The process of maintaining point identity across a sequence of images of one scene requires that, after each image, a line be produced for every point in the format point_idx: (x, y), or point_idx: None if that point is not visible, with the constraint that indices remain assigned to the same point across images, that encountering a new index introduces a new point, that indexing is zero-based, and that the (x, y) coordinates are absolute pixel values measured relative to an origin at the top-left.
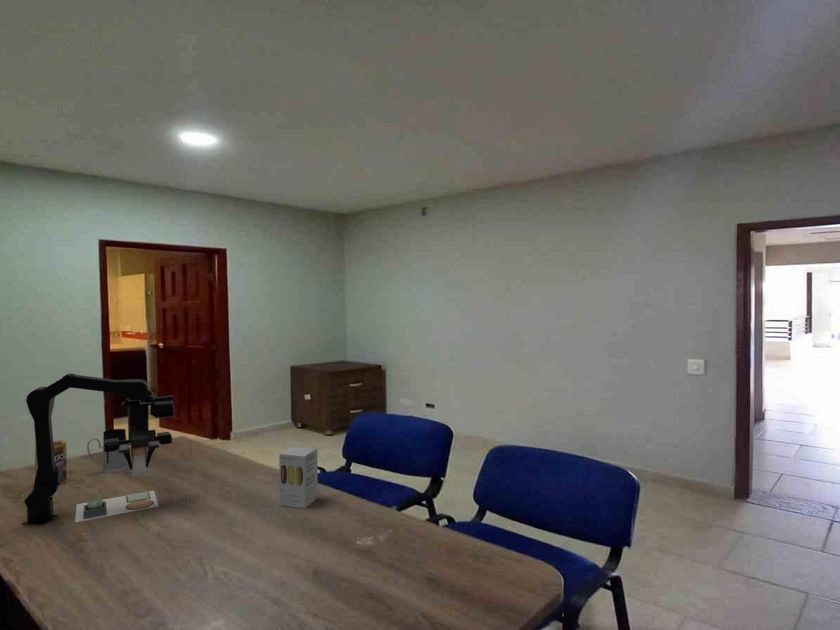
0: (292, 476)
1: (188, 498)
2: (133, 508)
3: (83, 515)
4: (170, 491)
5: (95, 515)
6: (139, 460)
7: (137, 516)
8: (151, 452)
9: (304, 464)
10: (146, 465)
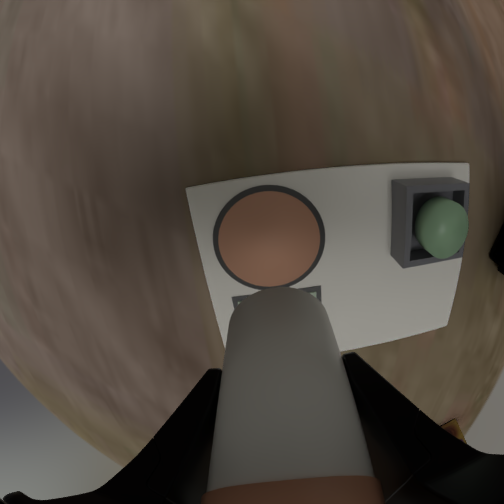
0: None
1: (95, 250)
2: (293, 198)
3: None
4: (174, 345)
5: (426, 178)
6: (282, 413)
7: (269, 117)
8: (126, 484)
9: None
10: (215, 380)
